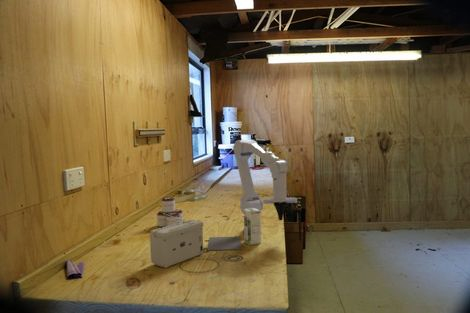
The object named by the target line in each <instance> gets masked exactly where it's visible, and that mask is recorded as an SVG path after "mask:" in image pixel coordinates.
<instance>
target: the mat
mask: <svg viewBox="0 0 470 313" xmlns="http://www.w3.org/2000/svg"><path fill="white" fill-rule="evenodd" d="M242 247H243V246H242V238H241V235H240V236H214V237H209V239H208V244H207V250H206V251H207V252H212V251H213V252H214V251H217V252H218V251H242V250H243V249H242Z"/></svg>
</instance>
